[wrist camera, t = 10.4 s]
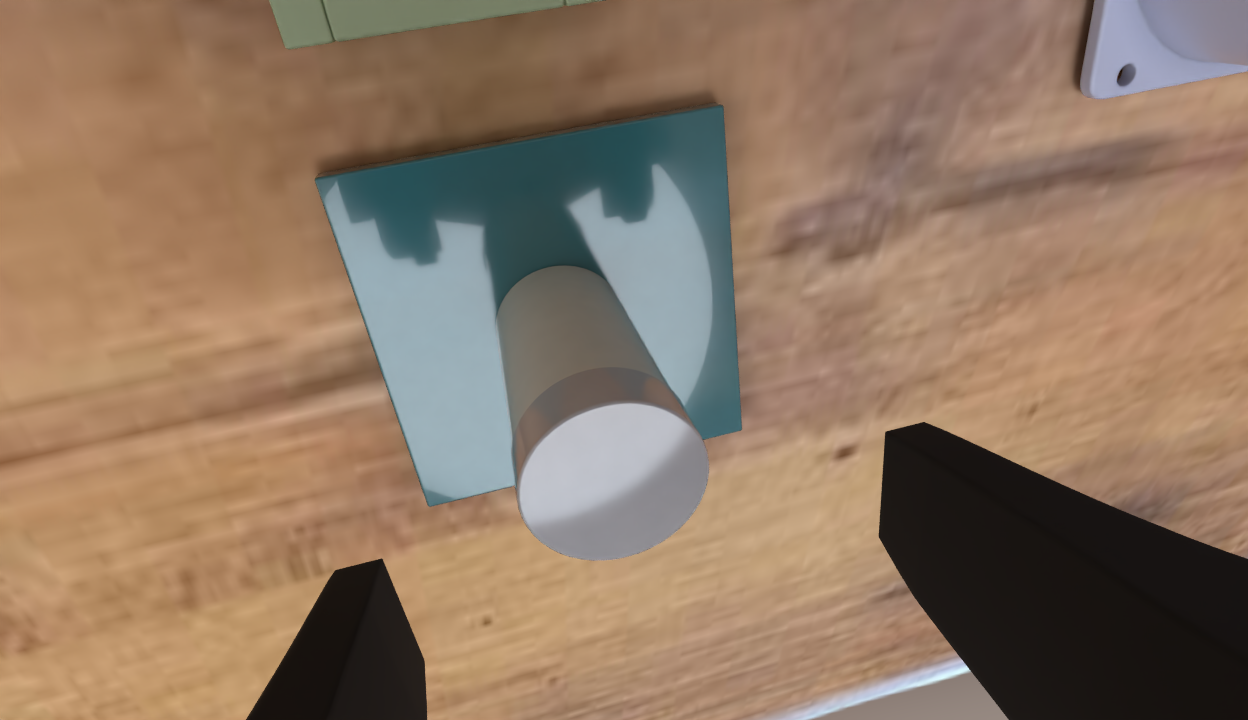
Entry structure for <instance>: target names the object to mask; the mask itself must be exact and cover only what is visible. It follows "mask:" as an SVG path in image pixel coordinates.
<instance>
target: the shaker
mask: <svg viewBox="0 0 1248 720" xmlns="http://www.w3.org/2000/svg"><path fill="white" fill-rule="evenodd" d="M495 329H496V340H497V346H498V353H499V360H500V367H501V374H502V380H503V387H504V394H505V401H506V408H507V414H508V421H509V428H510V435H511V442H512V447H511V461H512V468H513V476H514V483H515V490H516V497H517V503H518V508H519V511H520V514H521V517H522V519H523V521H524V523H525V524H526V526H527V528H528V529H529V530H530V531H531V533H532V534H533V535H534V536H535V537H536V538H537V539H538V540H539V541H541V542H542V543H543V544H544V545H546V546H547V547H549V548H550V549H552V550H554V551H556V552H558V553H560V554H563V555H566V556H569V557H573V558H578V559H584V560H612V559H619V558H623V557H628V556H631V555H634V554H638V553H641V552H643V551H645V550H648V549H650V548H652V547H654V546H656V545H657V544H659V543H661V542H663V541H664V540H666V539H667V538H668V537H670V536H671V535H672V534H674V533H675V532H676V531H677V530H678V529H680V528H681V527H682V526H683V525H684V524H685V522H686V521H687V520H688V519H689V518H690V517H691V515H692V514H693V513H694V511H695V510H696V508H697V506H698V505H699V503H700V501H701V499H702V497H703V494H704V492H705V489H706V485H707V481H708V474H709V459H708V453H707V449H706V446H705V443H704V441H703V439H702V437H701V435H700V433H699V432H698V430H697V428H696V426H695V425H694V423H693V421H692V419H691V418H690V416H689V414H688V413H687V411H686V409H685V407H684V406H683V404H682V402H681V400H680V399H679V398H678V396H677V395H676V394H675V392H674V391H673V390H672V389H671V388H670V387H669V385H668V383H667V381H666V380H665V378H664V376H663V374H662V372H661V371H660V369H659V367H658V365H657V364H656V362H655V360H654V358H653V357H652V355H651V353H650V351H649V349H648V348H647V346H646V344H645V342H644V341H643V339H642V337H641V335H640V334H639V332H638V330H637V328H636V327H635V325H634V323H633V321H632V319H631V318H630V316H629V314H628V312H627V311H626V309H625V307H624V305H623V304H622V302H621V300H620V298H619V297H618V295H617V293H616V291H615V290H614V289H613V288H612V286H611V285H610V284H609V283H608V282H607V281H606V280H605V279H603V278H602V277H601V276H599V275H597V274H596V273H594V272H592V271H589V270H587V269H584V268H580V267H576V266H552V267H547V268H544V269H540V270H538V271H535V272H533V273H531V274H529V275H527V276H526V277H524V278H523V279H521V280H520V281H519V282H517V283H516V284H515V285H514V286H513V287H512V288H511V290H510V291H509V292H508V293H507V294H506V296H505V298H504V299H503V301H502V303H501V305H500V308H499V310H498V314H497V317H496V325H495Z"/></svg>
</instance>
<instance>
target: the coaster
mask: <svg viewBox="0 0 1248 720" xmlns="http://www.w3.org/2000/svg"><path fill="white" fill-rule="evenodd" d="M315 183H316V186H317V189H318V191H319V194H320V197H321V200H322V203H323V206H324V209H325V212H326V214H327V217H328V220H329V223H330V226H331V229H332V232H333V235H334V237H335V240H336V243H337V246H338V249H339V252H340V255H341V258H342V260H343V263H344V266H345V269H346V272H347V275H348V278H349V281H350V283H351V286H352V289H353V292H354V295H355V298H356V301H357V304H358V306H359V309H360V312H361V315H362V318H363V321H364V324H365V327H366V329H367V332H368V335H369V338H370V341H371V344H372V347H373V349H374V352H375V355H376V358H377V361H378V364H379V367H380V370H381V372H382V375H383V378H384V381H385V384H386V387H387V390H388V393H389V395H390V398H391V401H392V404H393V407H394V410H395V413H396V416H397V418H398V421H399V424H400V427H401V430H402V433H403V436H404V439H405V441H406V444H407V447H408V450H409V453H410V456H411V459H412V462H413V464H414V467H415V470H416V473H417V476H418V479H419V482H420V485H421V487H422V490H423V493H424V496H425V499H426V502H427V505H428V506H429V507H431V506H435V505H439V504H443V503H448V502H452V501H456V500H460V499H464V498H468V497H472V496H476V495H480V494H484V493H488V492H492V491H497V490H501V489H505V488H509V487H513V486H515V483H514V476H513V468H512V461H511V447H512V442H511V435H510V428H509V421H508V414H507V408H506V401H505V394H504V387H503V380H502V374H501V367H500V360H499V353H498V346H497V340H496V329H495V325H496V317H497V314H498V310H499V308H500V305H501V303H502V301H503V299H504V298H505V296H506V294H507V293H508V292H509V291H510V290H511V288H512V287H513V286H514V285H515V284H516V283H517V282H519V281H520V280H521V279H523V278H524V277H526V276H527V275H529V274H531V273H533V272H535V271H538V270H540V269H544V268H547V267H552V266H576V267H580V268H584V269H587V270H589V271H592V272H594V273H596V274H597V275H599V276H601V277H602V278H603V279H605V280H606V281H607V282H608V283H609V284H610V285H611V286H612V288H613V289H614V290H615V291H616V293H617V295H618V297H619V298H620V300H621V302H622V304H623V305H624V307H625V309H626V311H627V312H628V314H629V316H630V318H631V319H632V321H633V323H634V325H635V327H636V328H637V330H638V332H639V334H640V335H641V337H642V339H643V341H644V342H645V344H646V346H647V348H648V349H649V351H650V353H651V355H652V357H653V358H654V360H655V362H656V364H657V365H658V367H659V369H660V371H661V372H662V374H663V376H664V378H665V380H666V381H667V383H668V385H669V387H670V388H671V389H672V390H673V391H674V392H675V394H676V395H677V396H678V398H679V399H680V400H681V402H682V404H683V406H684V407H685V409H686V411H687V413H688V414H689V416H690V418H691V419H692V421H693V423H694V425H695V426H696V428H697V430H698V432H699V433H700V435H701V437H702V439H703V440H705V439H709V438H713V437H717V436H721V435H725V434H729V433H733V432H737V431H741V430H742V421H741V403H740V386H739V368H738V350H737V333H736V315H735V298H734V280H733V263H732V245H731V228H730V210H729V193H728V175H727V158H726V140H725V123H724V107H723V105H721V104H718V103H710V104H704V105H698V106H693V107H687V108H682V109H676V110H670V111H665V112H659V113H654V114H648V115H642V116H637V117H631V118H626V119H620V120H615V121H609V122H603V123H598V124H592V125H587V126H581V127H575V128H570V129H564V130H559V131H553V132H548V133H542V134H536V135H531V136H525V137H520V138H514V139H508V140H503V141H497V142H492V143H486V144H481V145H475V146H469V147H464V148H458V149H453V150H447V151H441V152H436V153H430V154H425V155H419V156H413V157H408V158H402V159H397V160H391V161H386V162H380V163H374V164H369V165H363V166H358V167H352V168H346V169H341V170H335V171H330V172H324V173H319V174H318V175H317V176H316V178H315Z"/></svg>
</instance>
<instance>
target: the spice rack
mask: <svg viewBox="0 0 1248 720" xmlns="http://www.w3.org/2000/svg"><path fill="white" fill-rule="evenodd" d="M269 1H270V4H271V7H272V10H273V13H274V16H275V19H276V22H277V25H278V28H279V31H280V34H281V37H282V40H283V43H284V46H285V47H286V49H296V48H302V47H309V46H315V45H322V44H328V43H332V42H334V41H339V42H341V41H347V40H354V39H360V38H366V37H373V36H379V35H386V34H392V33H399V32H405V31H411V30H418V29H424V28H431V27H437V26H444V25H450V24H456V23H463V22H469V21H476V20H482V19H489V18H495V17H501V16H508V15H514V14H521V13H527V12H534V11H540V10H546V9H553V8H559V7H562V6H564V5H566V6H572V5H579V4H585V3H592V2H598V1H605V0H269Z"/></svg>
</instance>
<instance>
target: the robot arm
mask: <svg viewBox="0 0 1248 720" xmlns="http://www.w3.org/2000/svg"><path fill="white" fill-rule="evenodd" d="M1122 68H1123V72H1122V75H1121V77H1120V79H1119V80H1118V81H1117V76H1118V74H1119V71H1120V70H1121V69H1122ZM1247 71H1248V0H1095V1H1094V6H1093V12H1092V18H1091V23H1090V29H1089V34H1088V40H1087V46H1086V51H1085V57H1084V62H1083V68H1082V74H1081V79H1080V89H1081V91H1082V94H1083V95H1085V96H1086V97H1088V98H1094V99H1107V98H1113V97H1118V96H1123V95H1128V94H1133V93H1138V92H1144V91H1149V90H1154V89H1159V88H1164V87H1169V86H1175V85H1180V84H1185V83H1190V82H1195V81H1201V80H1206V79H1211V78H1216V77H1221V76H1226V75H1232V74H1237V73H1242V72H1247ZM879 538H880V540H881V542H882V543H883V545H884V547H885V549H886V550H887V552H888V554H889V556H890V557H891V559H892V561H893V563H894V564H895V566H896V568H897V570H898V571H899V573H900V575H901V576H902V578H903V579H904V581H905V583H906V584H907V586H908V588H909V589H910V591H911V592H912V594H913V596H914V597H915V599H916V600H917V601H918V603H919V604H920V605H921V607H922V608H923V609H924V611H925V612H926V613H927V615H928V616H929V617H930V619H931V620H932V621H933V623H934V624H935V625H936V626H937V628H938V629H939V630H940V632H941V633H942V634H943V636H944V637H945V638H946V640H947V641H948V642H949V643H950V645H951V646H952V647H953V649H954V650H955V651H956V652H957V654H958V655H959V656H960V658H961V659H962V660H963V661H964V663H965V664H966V665H967V667H968V668H969V669H970V670H971V672H972V673H973V674H974V676H975V677H976V678H977V679H978V681H979V682H980V683H981V684H982V686H983V687H984V688H985V690H986V691H987V692H988V693H989V695H990V696H991V697H992V699H993V700H994V701H995V702H996V704H997V705H998V706H999V707H1000V709H1001V710H1002V711H1003V713H1004V714H1005V715H1006V717H1007V718H1008V719H1009V720H1248V559H1246V558H1243V557H1240V556H1238V555H1235V554H1232V553H1229V552H1226V551H1223V550H1220V549H1218V548H1215V547H1212V546H1210V545H1207V544H1204V543H1202V542H1199V541H1196V540H1194V539H1191V538H1188V537H1186V536H1183V535H1181V534H1178V533H1176V532H1173V531H1171V530H1168V529H1166V528H1163V527H1161V526H1158V525H1156V524H1153V523H1151V522H1148V521H1146V520H1143V519H1141V518H1138V517H1136V516H1134V515H1131V514H1129V513H1126V512H1124V511H1121V510H1119V509H1117V508H1114V507H1112V506H1110V505H1107V504H1105V503H1103V502H1100V501H1098V500H1096V499H1093V498H1091V497H1089V496H1087V495H1084V494H1082V493H1080V492H1078V491H1075V490H1073V489H1071V488H1069V487H1066V486H1064V485H1062V484H1060V483H1058V482H1055V481H1053V480H1051V479H1049V478H1047V477H1044V476H1042V475H1040V474H1038V473H1036V472H1034V471H1031V470H1029V469H1027V468H1025V467H1023V466H1021V465H1018V464H1016V463H1014V462H1012V461H1010V460H1008V459H1006V458H1003V457H1001V456H999V455H997V454H995V453H993V452H991V451H988V450H986V449H984V448H982V447H980V446H978V445H975V444H973V443H971V442H969V441H967V440H965V439H962V438H960V437H958V436H956V435H954V434H951V433H949V432H947V431H944V430H942V429H940V428H937V427H935V426H933V425H930V424H928V423H925V422H922V423H918V424H914V425H910V426H906V427H902V428H898V429H894V430H891V431H887V432H885V446H884V462H883V478H882V493H881V509H880V525H879ZM246 720H427V700H426V681H425V662H424V658H423V656H422V653H421V651H420V648H419V646H418V644H417V641H416V639H415V636H414V634H413V632H412V629H411V627H410V624H409V622H408V620H407V617H406V615H405V612H404V610H403V608H402V605H401V603H400V600H399V598H398V595H397V593H396V591H395V588H394V586H393V583H392V581H391V579H390V576H389V574H388V571H387V569H386V567H385V564H384V562H383V559H378V560H374V561H370V562H366V563H362V564H358V565H354V566H350V567H346V568H342V569H338V570H335V571H334V573H333V574H332V576H331V577H330V579H329V580H328V582H327V584H326V585H325V587H324V589H323V591H322V592H321V594H320V596H319V597H318V599H317V601H316V603H315V604H314V606H313V608H312V610H311V611H310V613H309V615H308V617H307V618H306V620H305V622H304V624H303V625H302V627H301V629H300V631H299V632H298V634H297V636H296V638H295V639H294V641H293V643H292V644H291V646H290V648H289V650H288V651H287V653H286V655H285V656H284V658H283V660H282V662H281V663H280V665H279V667H278V668H277V670H276V672H275V673H274V675H273V677H272V678H271V680H270V681H269V683H268V685H267V686H266V688H265V690H264V691H263V693H262V695H261V696H260V698H259V699H258V701H257V703H256V704H255V706H254V708H253V709H252V711H251V712H250V714H249V716H248V717H247V719H246Z"/></svg>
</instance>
